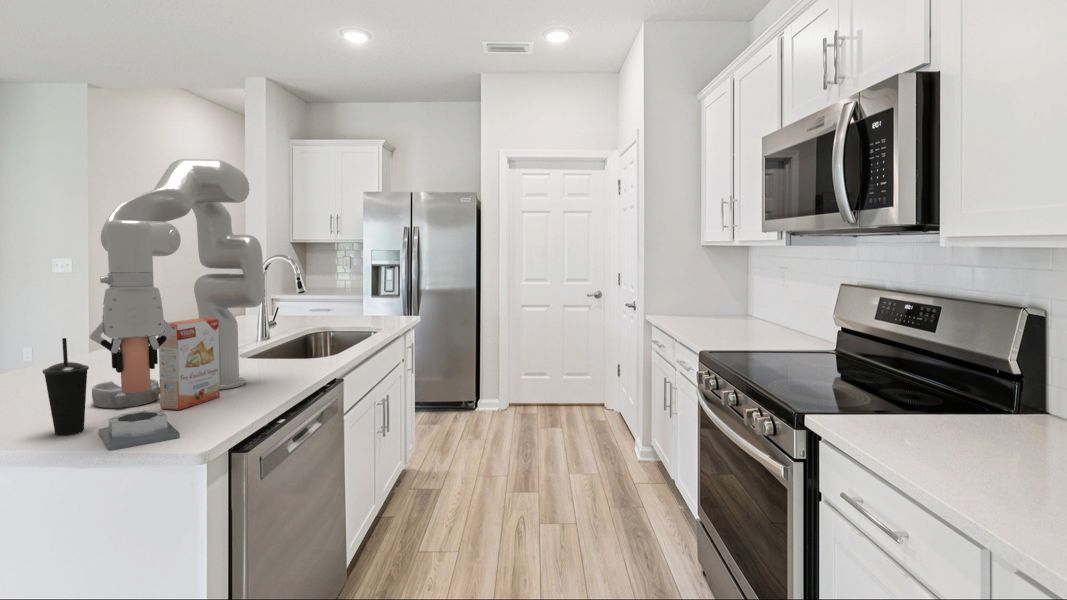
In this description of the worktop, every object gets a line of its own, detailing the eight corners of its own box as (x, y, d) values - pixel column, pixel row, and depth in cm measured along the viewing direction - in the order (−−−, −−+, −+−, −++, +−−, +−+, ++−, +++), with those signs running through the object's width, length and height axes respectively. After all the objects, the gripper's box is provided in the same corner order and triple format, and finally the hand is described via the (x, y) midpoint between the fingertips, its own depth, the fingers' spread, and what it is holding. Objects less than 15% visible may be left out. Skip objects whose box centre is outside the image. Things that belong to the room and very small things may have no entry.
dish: (87, 402, 151) (85, 383, 151) (150, 393, 161) (149, 375, 161) (101, 414, 142) (99, 393, 141) (167, 403, 152) (166, 383, 151)
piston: (119, 389, 124) (116, 329, 123) (148, 386, 128) (145, 327, 127) (124, 394, 121) (121, 331, 120) (153, 390, 124) (150, 329, 123)
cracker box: (180, 411, 144) (177, 324, 142) (159, 409, 145) (155, 323, 143) (222, 397, 158) (219, 317, 156) (202, 395, 159) (199, 316, 157)
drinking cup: (62, 427, 131) (57, 335, 129) (100, 426, 131) (95, 335, 129) (36, 438, 123) (31, 341, 121) (76, 437, 124) (71, 341, 122)
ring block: (98, 433, 126) (97, 414, 126) (164, 422, 134) (163, 405, 134) (109, 450, 116) (108, 430, 116) (179, 437, 124) (179, 418, 124)
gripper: (81, 283, 114) (86, 378, 115) (183, 281, 125) (186, 367, 127) (77, 281, 119) (81, 372, 121) (174, 279, 131) (178, 362, 132)
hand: (135, 368), depth 124 cm, fingers closed on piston, 5 cm apart
